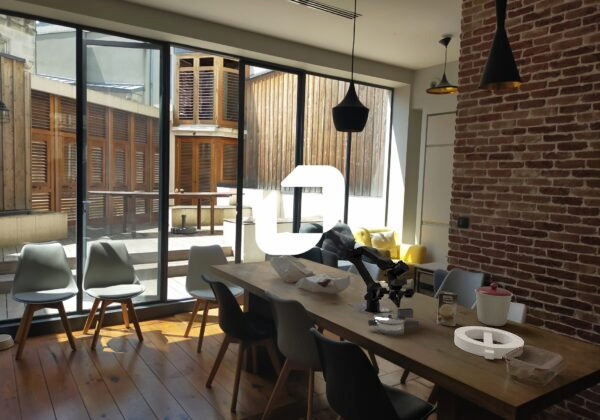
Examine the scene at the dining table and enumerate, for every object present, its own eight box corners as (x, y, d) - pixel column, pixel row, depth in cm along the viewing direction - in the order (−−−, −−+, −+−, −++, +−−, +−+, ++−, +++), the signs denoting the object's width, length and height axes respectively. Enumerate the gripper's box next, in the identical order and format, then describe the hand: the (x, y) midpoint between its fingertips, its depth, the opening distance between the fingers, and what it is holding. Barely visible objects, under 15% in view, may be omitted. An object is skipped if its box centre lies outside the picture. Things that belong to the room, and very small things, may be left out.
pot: (364, 325, 216) (364, 315, 216) (411, 325, 219) (412, 315, 219) (372, 335, 203) (372, 324, 202) (422, 335, 206) (423, 324, 205)
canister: (481, 316, 241) (483, 278, 239) (516, 324, 228) (519, 284, 227) (467, 322, 228) (469, 282, 227) (502, 331, 215) (505, 289, 214)
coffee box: (436, 324, 223) (438, 292, 222) (436, 320, 229) (438, 290, 228) (455, 326, 220) (457, 295, 219) (455, 323, 226) (457, 292, 225)
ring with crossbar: (489, 363, 176) (490, 351, 175) (440, 339, 201) (441, 329, 201) (538, 354, 187) (539, 343, 186) (486, 333, 212) (487, 323, 212)
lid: (369, 315, 216) (369, 305, 216) (405, 314, 220) (405, 304, 220) (380, 324, 202) (381, 314, 201) (418, 323, 206) (419, 313, 205)
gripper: (379, 271, 223) (384, 299, 213) (415, 272, 225) (421, 299, 215) (374, 283, 231) (379, 310, 221) (408, 284, 233) (414, 310, 223)
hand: (398, 307), depth 220 cm, fingers closed
